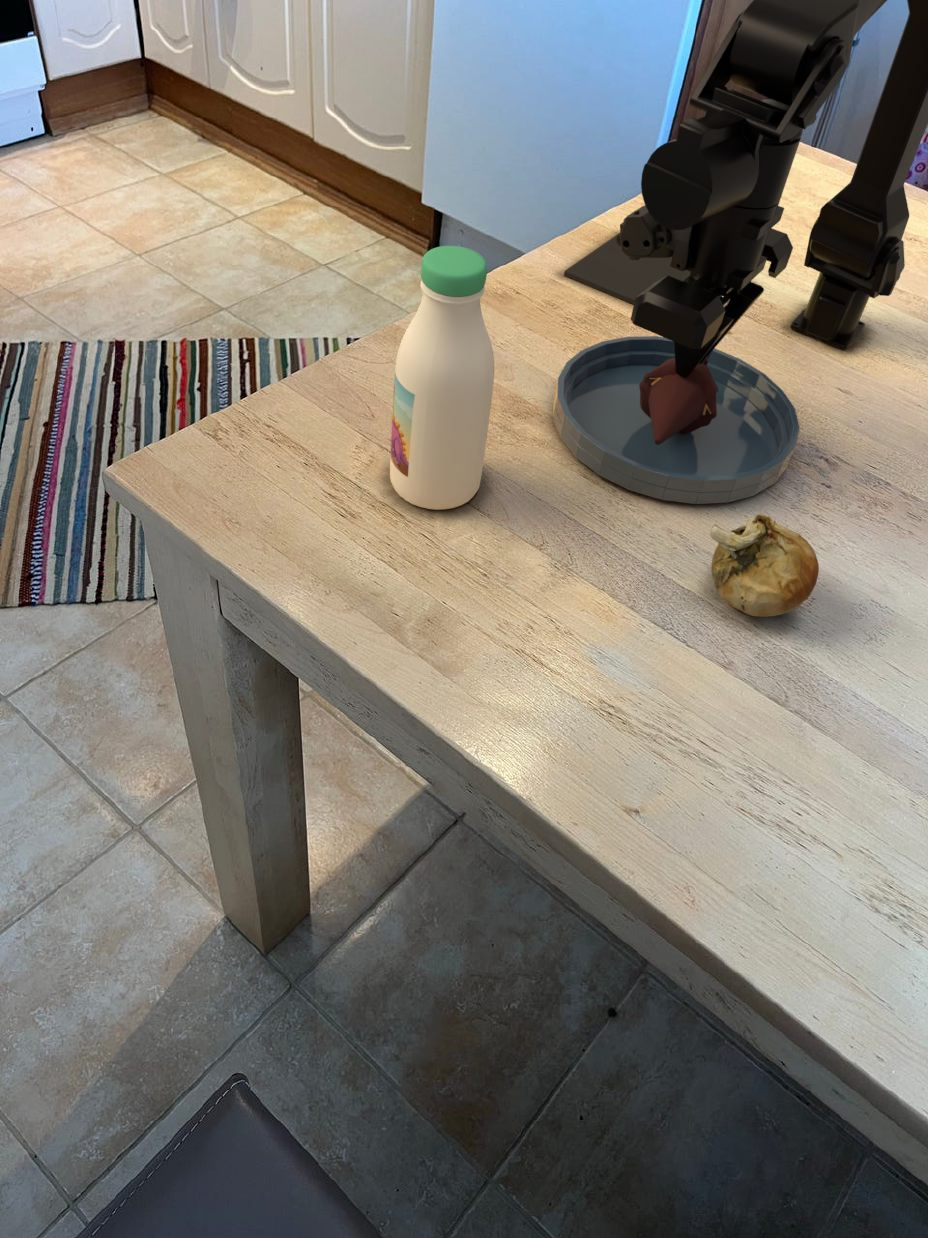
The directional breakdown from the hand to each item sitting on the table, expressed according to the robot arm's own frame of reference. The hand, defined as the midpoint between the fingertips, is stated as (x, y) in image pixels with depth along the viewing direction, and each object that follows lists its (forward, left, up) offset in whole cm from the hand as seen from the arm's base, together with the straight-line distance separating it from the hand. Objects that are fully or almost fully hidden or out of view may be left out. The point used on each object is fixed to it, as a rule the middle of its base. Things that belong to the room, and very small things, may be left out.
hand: (688, 368), depth 84 cm
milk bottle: (+21, -12, -7) cm, 25 cm away
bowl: (0, 0, -7) cm, 7 cm away
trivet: (-25, -14, -7) cm, 29 cm away
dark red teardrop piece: (0, 0, -6) cm, 6 cm away
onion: (+16, +15, -7) cm, 23 cm away
